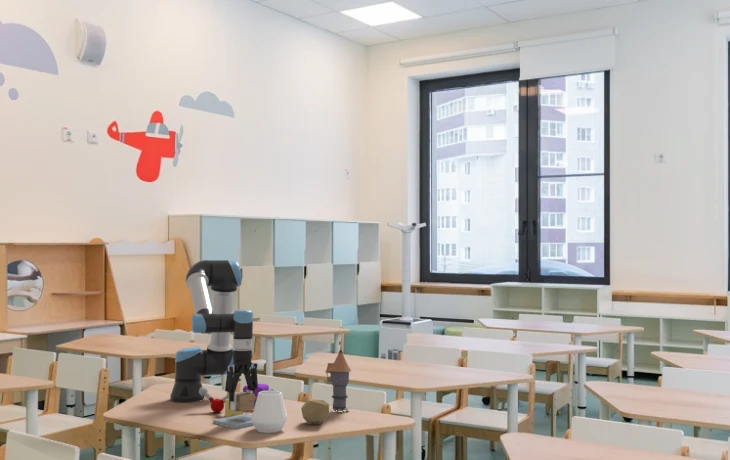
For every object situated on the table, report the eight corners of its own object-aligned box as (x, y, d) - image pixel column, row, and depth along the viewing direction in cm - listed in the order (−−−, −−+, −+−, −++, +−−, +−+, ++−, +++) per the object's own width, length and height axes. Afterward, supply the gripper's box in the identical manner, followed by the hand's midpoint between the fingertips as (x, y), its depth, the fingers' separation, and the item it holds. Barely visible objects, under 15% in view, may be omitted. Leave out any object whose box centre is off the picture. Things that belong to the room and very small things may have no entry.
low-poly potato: (310, 429, 268) (336, 414, 270) (296, 403, 270) (323, 388, 273) (309, 431, 282) (334, 417, 284) (296, 407, 284) (321, 392, 287)
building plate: (213, 422, 275) (213, 419, 275) (245, 416, 286) (245, 413, 287) (235, 428, 265) (235, 425, 265) (268, 422, 277) (268, 418, 277)
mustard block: (224, 416, 287) (225, 399, 287) (234, 414, 290) (235, 397, 291) (232, 418, 283) (232, 400, 284) (242, 416, 287) (242, 399, 287)
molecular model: (195, 411, 295) (196, 387, 296) (203, 409, 300) (204, 385, 301) (231, 415, 288) (231, 391, 289) (238, 413, 293) (239, 388, 294)
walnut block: (228, 409, 276) (229, 393, 276) (242, 407, 281) (243, 391, 281) (239, 411, 271) (240, 396, 271) (254, 409, 276) (254, 394, 277)
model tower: (331, 407, 308) (333, 338, 309) (354, 409, 303) (355, 339, 305) (321, 411, 299) (323, 340, 301) (345, 414, 295) (346, 341, 296)
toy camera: (272, 409, 302) (273, 386, 302) (241, 409, 302) (241, 385, 302) (276, 404, 312) (277, 382, 313) (245, 404, 313) (246, 381, 313)
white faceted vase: (288, 433, 259) (289, 395, 260) (252, 434, 257) (253, 396, 257) (285, 425, 272) (286, 389, 273) (250, 426, 270) (251, 389, 270)
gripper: (227, 352, 267) (226, 413, 266) (268, 348, 282) (267, 406, 281) (215, 350, 272) (214, 410, 271) (256, 346, 287) (255, 403, 286)
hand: (241, 408), depth 276 cm, fingers closed on walnut block, 7 cm apart
